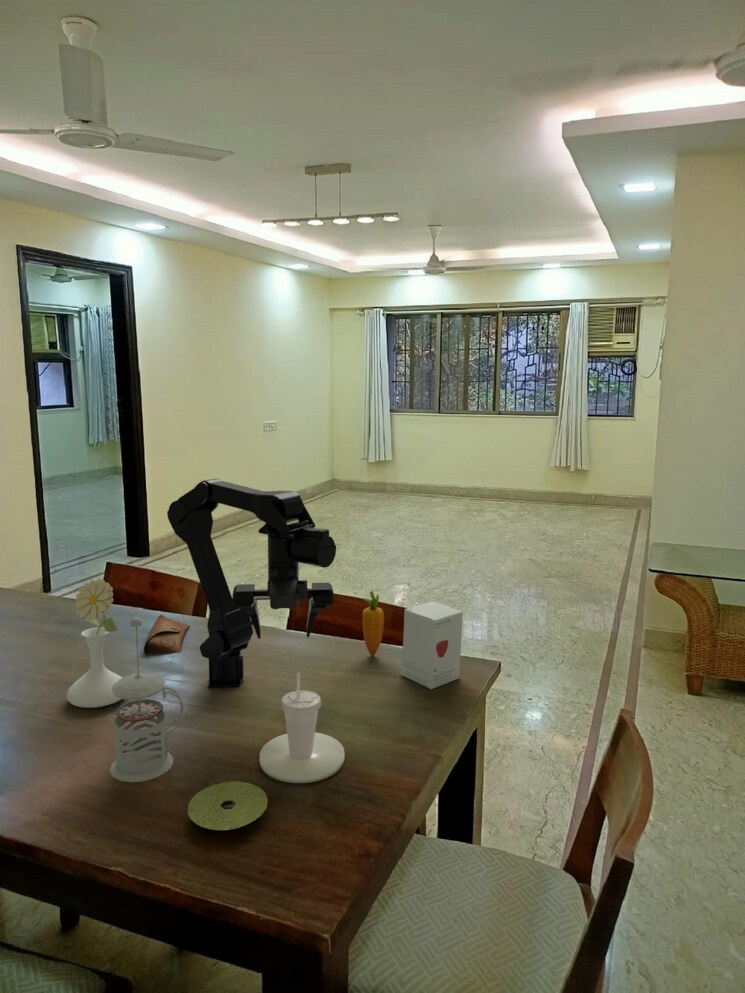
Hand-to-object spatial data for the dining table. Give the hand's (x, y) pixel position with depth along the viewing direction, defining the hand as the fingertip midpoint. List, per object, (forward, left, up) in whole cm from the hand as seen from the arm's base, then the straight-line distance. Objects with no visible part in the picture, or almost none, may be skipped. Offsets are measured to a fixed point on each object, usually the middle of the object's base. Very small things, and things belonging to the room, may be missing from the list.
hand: (283, 637), depth 132 cm
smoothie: (+3, -21, -12) cm, 24 cm away
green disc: (-8, -35, -13) cm, 38 cm away
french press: (-22, -20, -13) cm, 33 cm away
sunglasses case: (-27, +34, -14) cm, 46 cm away
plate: (+3, -21, -13) cm, 25 cm away
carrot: (+20, +20, -13) cm, 31 cm away
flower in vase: (-35, +3, -13) cm, 38 cm away
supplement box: (+31, +8, -13) cm, 35 cm away
